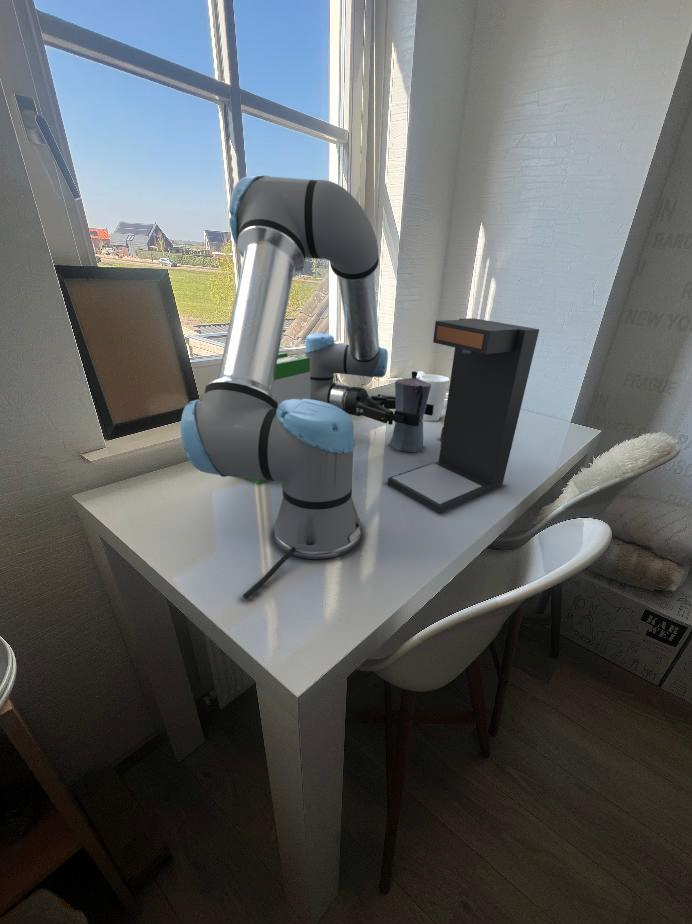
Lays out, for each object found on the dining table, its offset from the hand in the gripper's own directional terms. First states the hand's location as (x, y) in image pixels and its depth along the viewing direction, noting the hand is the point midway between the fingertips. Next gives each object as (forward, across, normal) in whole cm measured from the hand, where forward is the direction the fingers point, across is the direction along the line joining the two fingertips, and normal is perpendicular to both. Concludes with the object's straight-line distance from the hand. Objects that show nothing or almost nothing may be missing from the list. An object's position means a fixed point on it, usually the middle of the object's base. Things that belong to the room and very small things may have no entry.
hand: (426, 415), depth 108 cm
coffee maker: (+12, +16, -10) cm, 22 cm away
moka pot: (-4, 0, -10) cm, 11 cm away
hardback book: (-27, +28, -10) cm, 40 cm away
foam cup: (-8, -29, -10) cm, 32 cm away
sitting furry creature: (-16, -40, -10) cm, 45 cm away
